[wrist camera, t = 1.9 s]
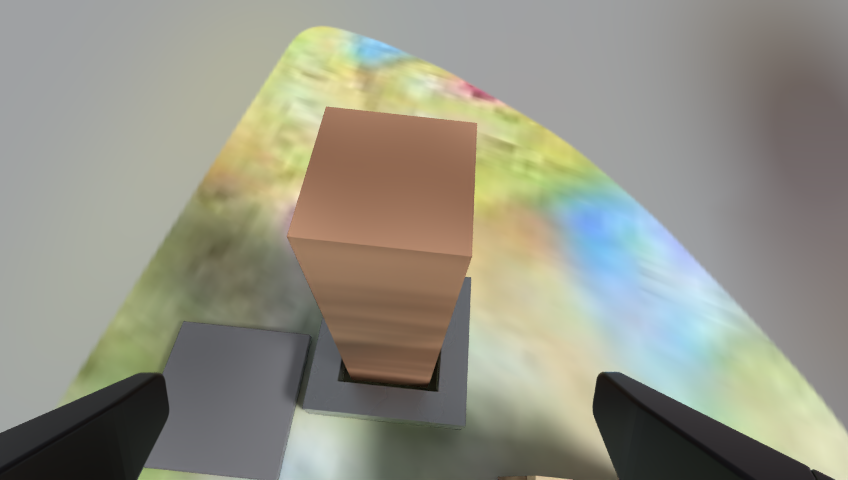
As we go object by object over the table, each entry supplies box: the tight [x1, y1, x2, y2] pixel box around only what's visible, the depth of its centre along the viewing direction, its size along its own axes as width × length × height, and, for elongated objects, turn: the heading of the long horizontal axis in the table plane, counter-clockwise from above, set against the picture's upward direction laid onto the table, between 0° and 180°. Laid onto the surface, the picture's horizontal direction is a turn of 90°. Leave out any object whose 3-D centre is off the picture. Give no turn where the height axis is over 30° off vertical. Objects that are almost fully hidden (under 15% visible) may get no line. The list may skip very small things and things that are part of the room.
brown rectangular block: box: [287, 107, 477, 388], centre depth 14 cm, size 4×4×13 cm
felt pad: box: [144, 321, 312, 480], centre depth 18 cm, size 6×6×1 cm
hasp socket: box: [302, 277, 471, 430], centre depth 19 cm, size 7×7×2 cm
